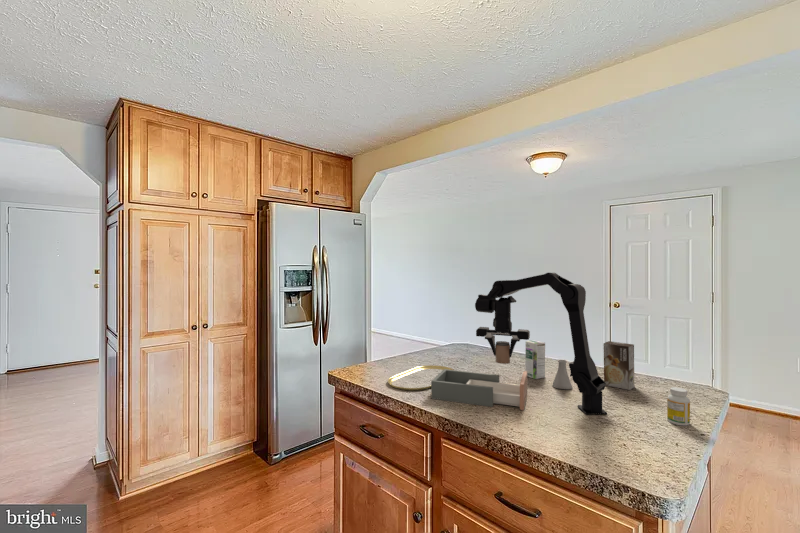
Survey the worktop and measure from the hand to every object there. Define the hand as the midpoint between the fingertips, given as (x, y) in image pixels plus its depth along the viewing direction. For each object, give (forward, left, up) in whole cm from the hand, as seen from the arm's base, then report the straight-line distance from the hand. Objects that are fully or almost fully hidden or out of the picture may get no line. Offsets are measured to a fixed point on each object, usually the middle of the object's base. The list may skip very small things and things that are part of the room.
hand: (502, 356), depth 141 cm
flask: (+3, -23, -12) cm, 26 cm away
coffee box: (+5, -45, -12) cm, 47 cm away
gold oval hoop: (+12, +29, -13) cm, 34 cm away
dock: (-7, +14, -12) cm, 20 cm away
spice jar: (0, 0, -2) cm, 2 cm away
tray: (-11, +4, -12) cm, 17 cm away
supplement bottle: (-29, -44, -12) cm, 54 cm away
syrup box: (+16, -17, -12) cm, 26 cm away
